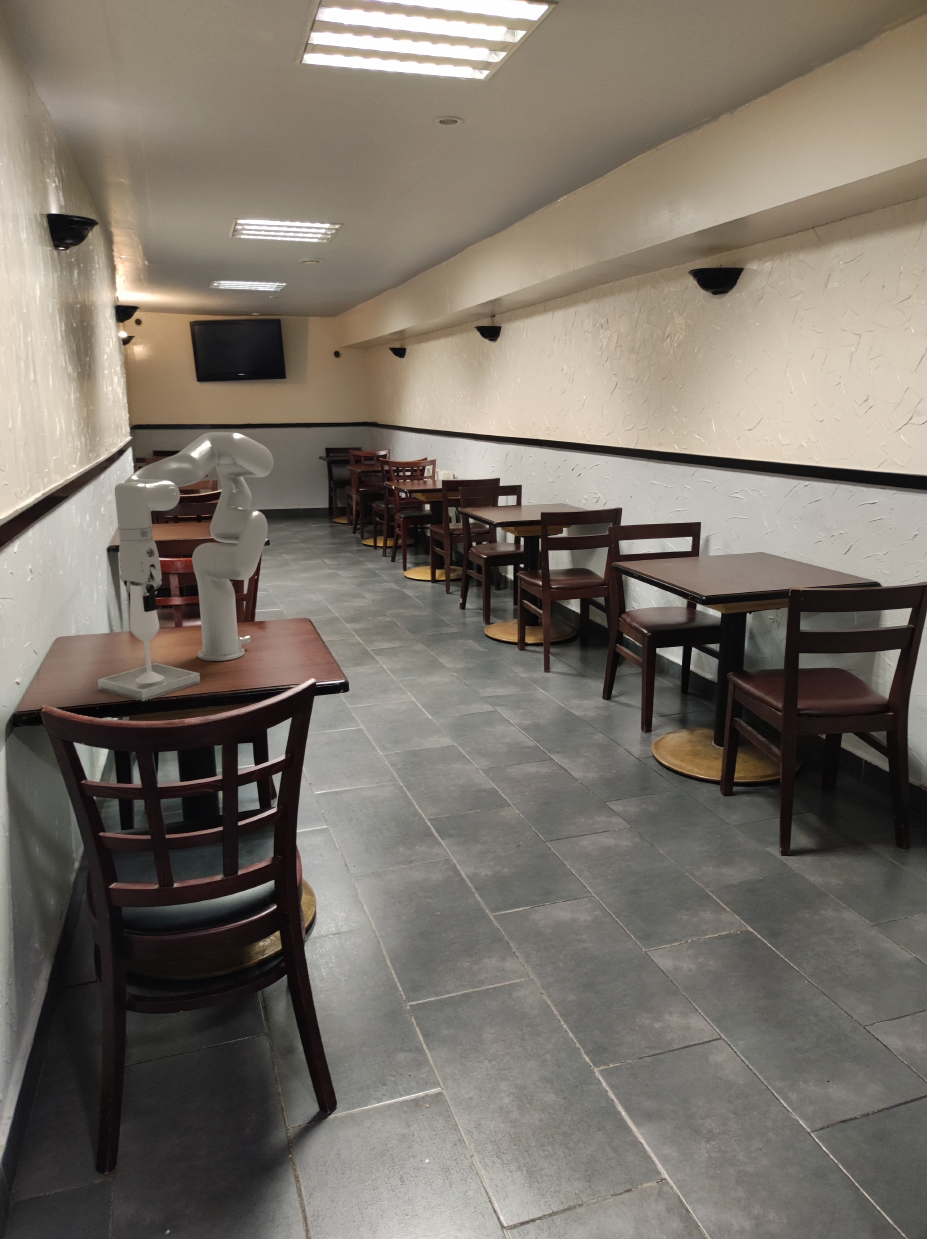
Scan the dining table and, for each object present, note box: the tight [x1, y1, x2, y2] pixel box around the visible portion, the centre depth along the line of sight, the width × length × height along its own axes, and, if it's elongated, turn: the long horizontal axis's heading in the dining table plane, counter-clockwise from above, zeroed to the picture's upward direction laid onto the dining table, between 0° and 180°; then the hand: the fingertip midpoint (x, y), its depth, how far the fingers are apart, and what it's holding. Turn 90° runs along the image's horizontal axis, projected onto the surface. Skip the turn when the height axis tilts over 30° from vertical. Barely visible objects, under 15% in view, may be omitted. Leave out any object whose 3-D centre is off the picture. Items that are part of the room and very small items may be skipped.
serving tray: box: [97, 662, 201, 702], centre depth 211 cm, size 17×17×2 cm
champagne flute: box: [129, 583, 164, 683], centre depth 208 cm, size 7×7×24 cm
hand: (143, 608), depth 206 cm, fingers closed on champagne flute, 4 cm apart
